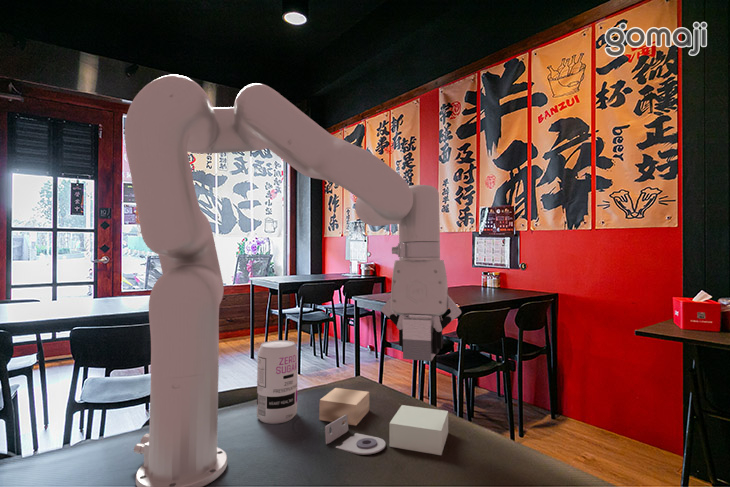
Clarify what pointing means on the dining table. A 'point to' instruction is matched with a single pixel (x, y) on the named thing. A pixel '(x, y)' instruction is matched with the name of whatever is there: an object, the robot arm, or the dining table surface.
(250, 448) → the dining table surface
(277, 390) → the supplement can
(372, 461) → the dining table surface
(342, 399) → the stand
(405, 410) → the stand
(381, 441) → the bracket
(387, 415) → the dining table surface
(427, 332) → the block
